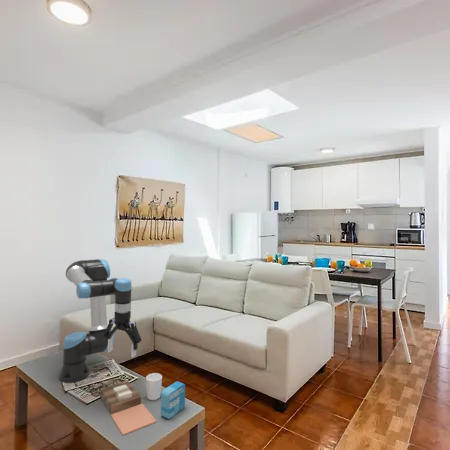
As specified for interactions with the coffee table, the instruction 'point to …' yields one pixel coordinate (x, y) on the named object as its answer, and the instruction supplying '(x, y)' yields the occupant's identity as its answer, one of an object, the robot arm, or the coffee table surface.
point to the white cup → (153, 386)
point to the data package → (172, 399)
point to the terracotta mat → (133, 419)
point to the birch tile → (122, 392)
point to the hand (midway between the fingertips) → (121, 353)
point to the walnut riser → (113, 402)
